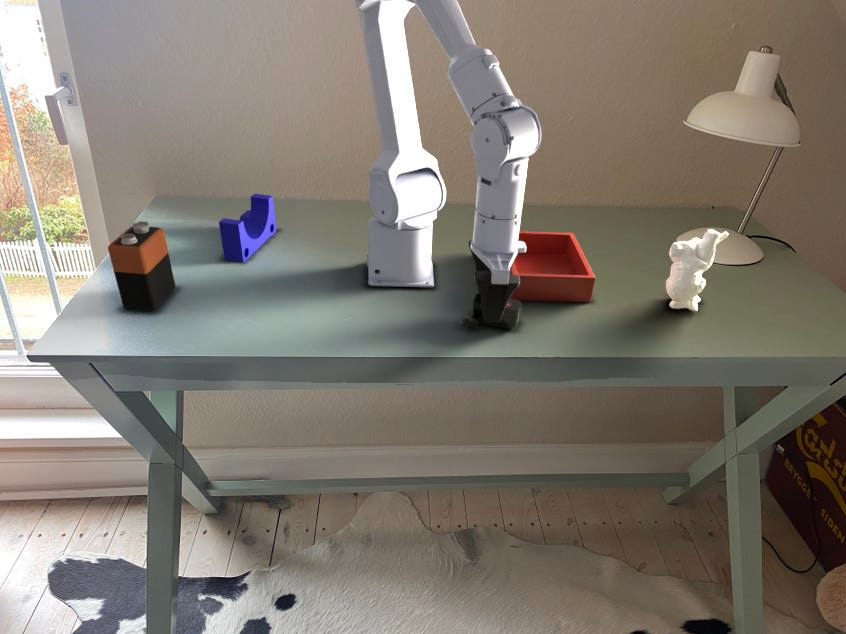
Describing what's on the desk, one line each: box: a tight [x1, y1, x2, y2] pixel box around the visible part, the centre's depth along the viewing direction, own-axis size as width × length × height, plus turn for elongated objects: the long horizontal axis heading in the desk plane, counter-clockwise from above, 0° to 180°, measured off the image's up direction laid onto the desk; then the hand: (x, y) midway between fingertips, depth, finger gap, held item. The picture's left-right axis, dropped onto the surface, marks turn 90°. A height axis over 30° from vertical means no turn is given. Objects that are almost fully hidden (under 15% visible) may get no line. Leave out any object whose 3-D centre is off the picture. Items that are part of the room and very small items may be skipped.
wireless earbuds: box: [460, 292, 522, 330], centre depth 89 cm, size 5×7×3 cm, turn 75°
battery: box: [107, 220, 176, 312], centre depth 85 cm, size 4×7×10 cm, turn 178°
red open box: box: [509, 230, 596, 303], centre depth 102 cm, size 12×16×4 cm
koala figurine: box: [665, 228, 730, 312], centre depth 96 cm, size 8×7×12 cm
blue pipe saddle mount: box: [218, 193, 277, 263], centre depth 102 cm, size 12×4×6 cm, turn 171°
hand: (488, 306), depth 89 cm, fingers open, 7 cm apart
